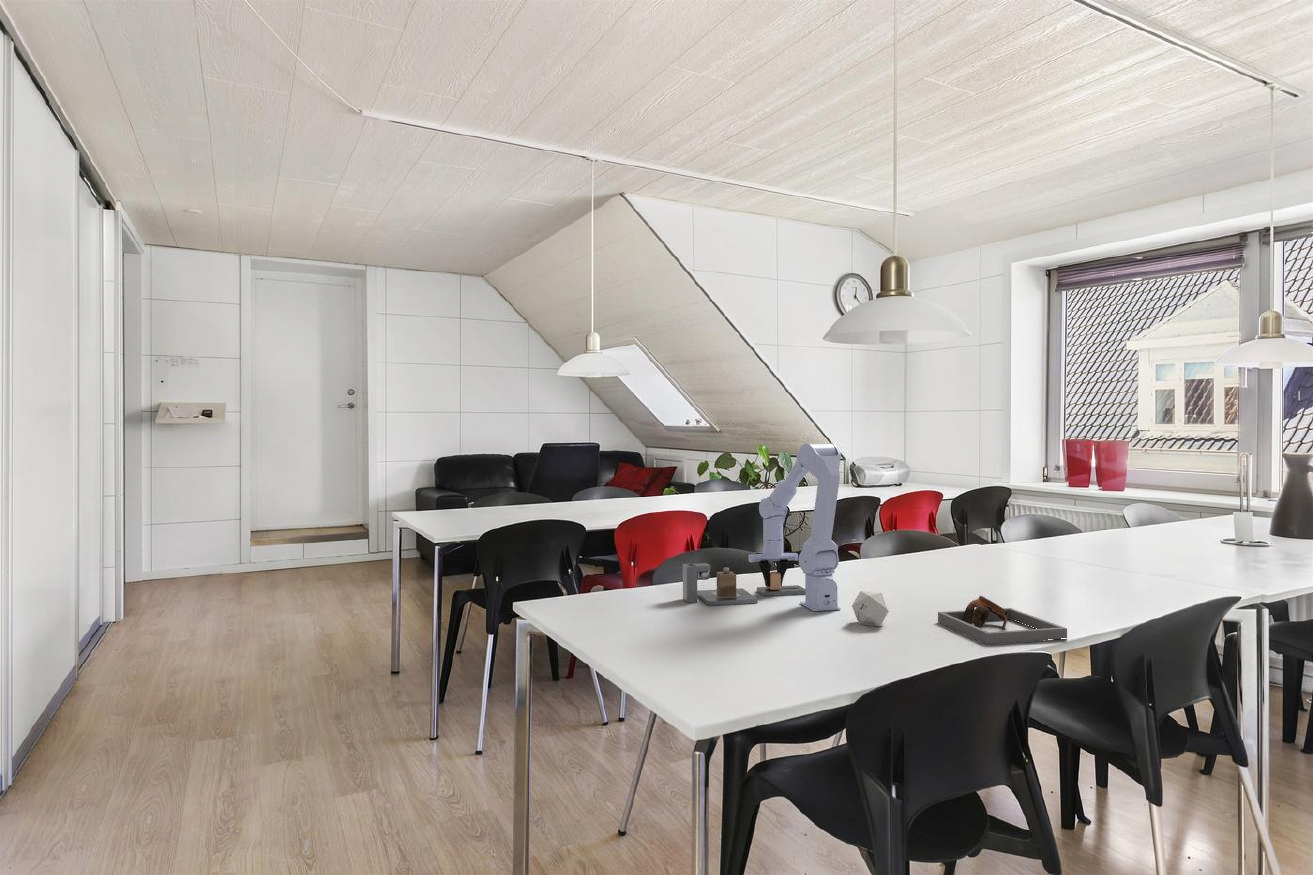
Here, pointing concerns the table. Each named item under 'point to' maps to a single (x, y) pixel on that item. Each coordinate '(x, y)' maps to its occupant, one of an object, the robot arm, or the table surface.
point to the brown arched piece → (983, 612)
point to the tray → (1003, 637)
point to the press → (709, 595)
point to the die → (870, 608)
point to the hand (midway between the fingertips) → (773, 585)
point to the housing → (726, 583)
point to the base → (781, 591)
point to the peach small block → (775, 580)
